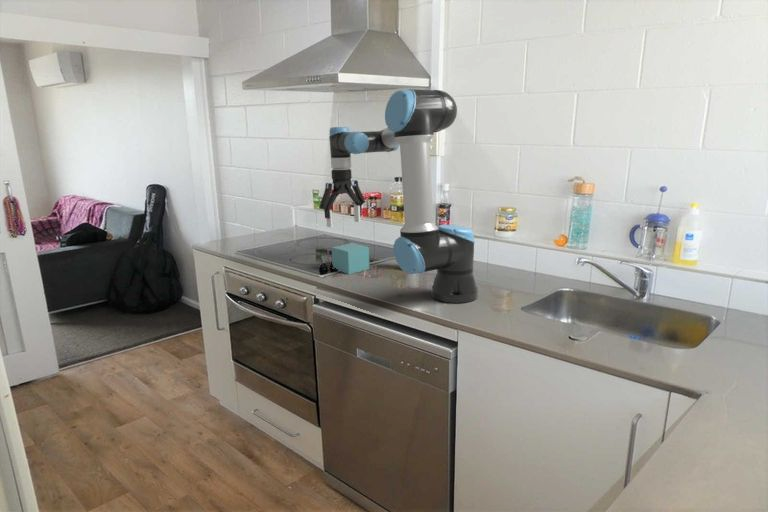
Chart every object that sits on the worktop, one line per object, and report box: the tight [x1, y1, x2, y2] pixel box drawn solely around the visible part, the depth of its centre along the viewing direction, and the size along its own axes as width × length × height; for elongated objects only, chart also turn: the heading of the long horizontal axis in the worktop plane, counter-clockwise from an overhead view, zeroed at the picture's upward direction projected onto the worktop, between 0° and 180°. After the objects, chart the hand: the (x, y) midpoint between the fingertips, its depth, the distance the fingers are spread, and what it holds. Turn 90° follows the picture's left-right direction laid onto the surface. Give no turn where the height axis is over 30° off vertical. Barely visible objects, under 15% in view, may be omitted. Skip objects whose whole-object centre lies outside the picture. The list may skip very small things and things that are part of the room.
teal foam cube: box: [331, 242, 370, 275], centre depth 202 cm, size 10×10×9 cm
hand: (343, 224), depth 201 cm, fingers open, 13 cm apart
